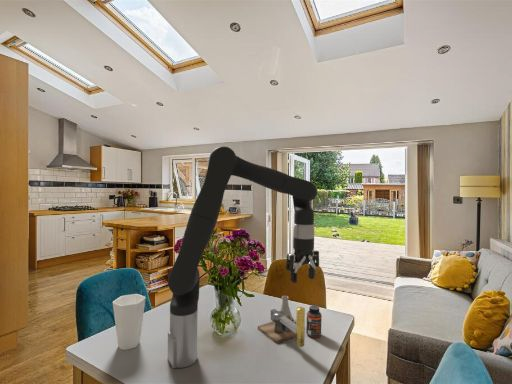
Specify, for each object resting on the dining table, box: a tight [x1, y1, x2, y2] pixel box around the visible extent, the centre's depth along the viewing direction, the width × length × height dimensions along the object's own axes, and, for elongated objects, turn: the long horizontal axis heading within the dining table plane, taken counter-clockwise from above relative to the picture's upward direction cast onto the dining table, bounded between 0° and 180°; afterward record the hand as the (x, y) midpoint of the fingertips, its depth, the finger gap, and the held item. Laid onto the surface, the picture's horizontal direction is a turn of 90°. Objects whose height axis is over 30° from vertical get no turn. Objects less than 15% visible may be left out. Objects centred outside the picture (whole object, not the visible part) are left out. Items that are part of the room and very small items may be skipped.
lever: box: [270, 306, 306, 348], centre depth 107 cm, size 20×5×13 cm, turn 29°
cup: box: [112, 293, 146, 351], centre depth 103 cm, size 11×10×17 cm
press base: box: [257, 315, 296, 345], centre depth 113 cm, size 13×10×7 cm
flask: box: [279, 295, 293, 322], centre depth 125 cm, size 7×7×10 cm
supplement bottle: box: [306, 304, 323, 339], centre depth 112 cm, size 6×6×11 cm
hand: (302, 280), depth 100 cm, fingers open, 8 cm apart
